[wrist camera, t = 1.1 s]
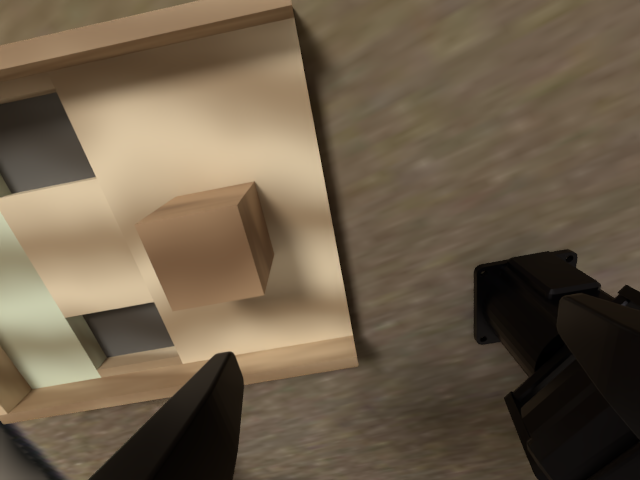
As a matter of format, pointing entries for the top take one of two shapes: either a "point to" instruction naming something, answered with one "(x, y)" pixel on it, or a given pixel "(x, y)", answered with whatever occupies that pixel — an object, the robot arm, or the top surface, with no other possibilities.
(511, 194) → the top surface
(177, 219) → the block
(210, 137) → the box
